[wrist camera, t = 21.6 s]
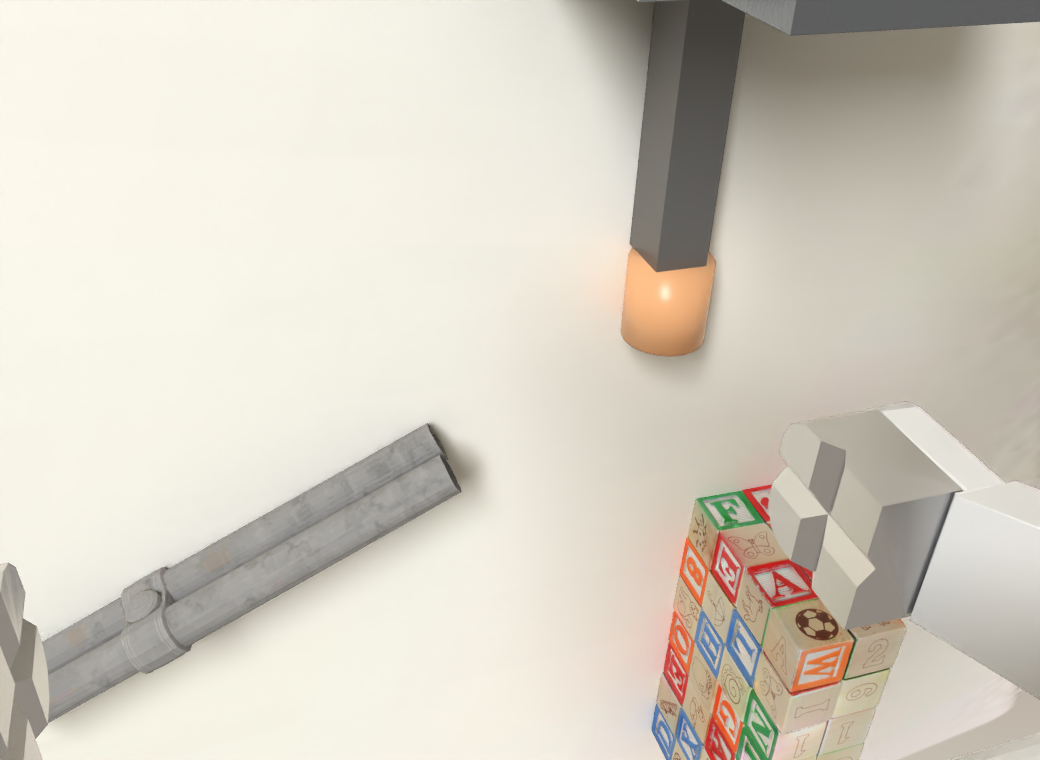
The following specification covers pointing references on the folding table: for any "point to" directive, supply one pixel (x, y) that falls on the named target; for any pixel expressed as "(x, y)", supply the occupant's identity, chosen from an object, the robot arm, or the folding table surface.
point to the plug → (679, 174)
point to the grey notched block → (883, 14)
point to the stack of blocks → (762, 650)
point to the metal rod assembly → (246, 569)
